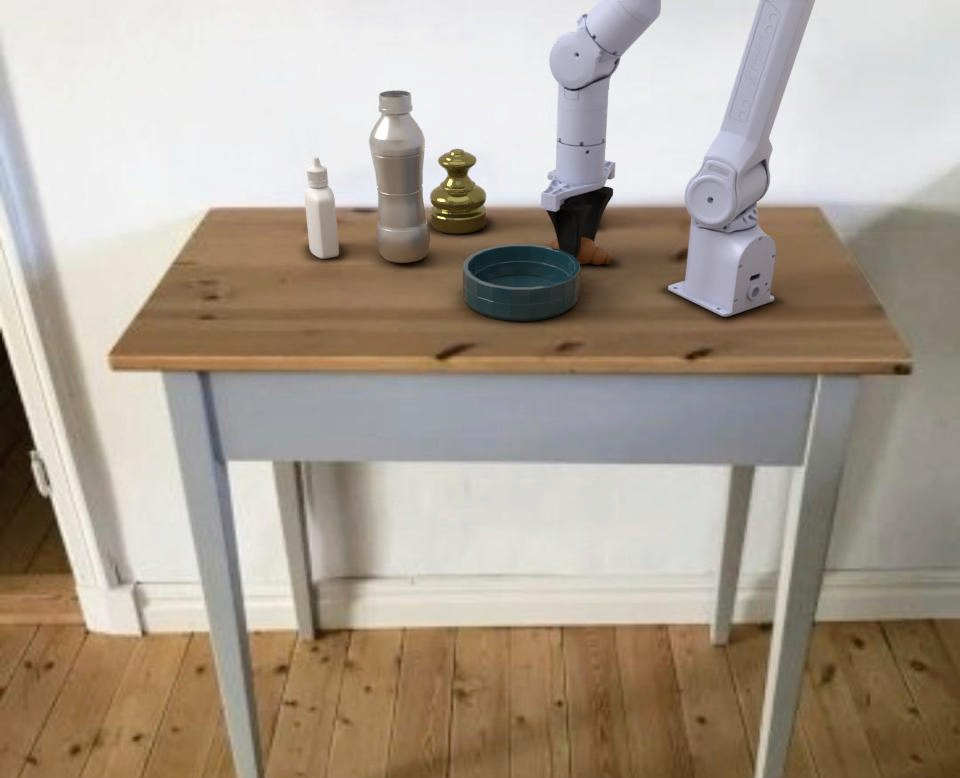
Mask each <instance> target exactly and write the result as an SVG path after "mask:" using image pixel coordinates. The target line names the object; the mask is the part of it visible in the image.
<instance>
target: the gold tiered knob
mask: <svg viewBox="0 0 960 778" xmlns="http://www.w3.org/2000/svg"><path fill="white" fill-rule="evenodd" d="M477 162H478V161H477V157H476V156H475V155H474V154H472V153H471V152H467V151H465V150H464V149H462V148H454V149H451V150H450V151H448V152H445V153H443V154H441V155H440V156H439V157H438V159H437V163H438V165H439V166H440V167H441V168H443V169H444V170H445V171H446V174H447V176H446V177H445V178H444V180H443V181H441V182H440V183H439V185H438V186H436V187H434V188H433V189H432V190H431V192H430V194H429V200H430V203H431V205H432V207H431V208H430V220H431V221H430V225H431V226H432V228H433V229H435V230H436V231H438V232H441V233H445V234H450V235H451V234H452V235H461V234H462V235H464V234H471V233H475V232H478V231H480V230H482V229H483V228H484V227H486V225H487V207H486V206H485V203H486V201H487V192H486V190H485V189H484V188H483V187H482V186H481V185H477V183H476V182H475V181H474V180H472V179H471V177H470V176H469V172H470V170H471V169H472V167H474V166H475V165H476V164H477Z"/></svg>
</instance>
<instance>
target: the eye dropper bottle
mask: <svg viewBox="0 0 960 778" xmlns="http://www.w3.org/2000/svg"><path fill="white" fill-rule="evenodd" d="M306 176H307V187H306V188H305V189H304V206H305V216H306V226H307V237H308V247H309V251H310V252H311V254H312V255H314V256H315V257H316V258H319V259H322V260H324V259H325V260H326V259H332V258H337V257H338V256H339V254H340V245H339V232H338V221H337V211H336V210H337V209H336V200H335V194H334V192H333V189H332V188H331V187H330V186H329V178H328V177H329V176H328V168H327V167H326V166H324V165H322V163H321V160H320V157H319V156H313V157H312V162H311V166H309V167H307V168H306Z"/></svg>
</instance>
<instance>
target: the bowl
mask: <svg viewBox="0 0 960 778" xmlns="http://www.w3.org/2000/svg"><path fill="white" fill-rule="evenodd" d="M580 283H581V264H580V263H579V262H578V261H577V260H576V258H575V257H574V256H572V255H570V254H568V253H566V252H564V251H562V250H559V249H555V248H551V246H547V245H541V244H532V243H531V244H530V243H529V244H528V243H512V244H503V245H496V246H495V245H494V246H491V247H487V248H484V249H481V250H478V251H477V252H473V253H472V254H470V255H469V256H468V257H467V258H466V259H465V260H464V261H463V264H462V298H463V300H464V301H465V302H466V304H467V305H468V306H469V307H471V308H472V309H473V310H475V311H476V312H477V313H479V314H481V315H483V316H486V317H488V318H492V319H497V320H503V321H511V322H533V321H539V320H547V319H550V318H554V317H557V316H559V315H561V314H563V313H565V312H567V311H569V309H571V308H572V307H574V306H575V304H576V303H577V301H578V300H579V299H580V287H581V286H580V285H581V284H580Z"/></svg>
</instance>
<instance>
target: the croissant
mask: <svg viewBox="0 0 960 778" xmlns="http://www.w3.org/2000/svg"><path fill="white" fill-rule="evenodd" d="M550 247H551V248H555V249H559V245H558V241H557V239H555V240H554V241H553V242H552V243H551V245H550ZM559 250H560V249H559ZM613 259H614V256H613V254H612V253H611V252H610V251H606V249H604V248H603V247H602V246H597V244H596V243H595V241H594V242H593V241H592V240H591V239H589V238H585V237H582V238H581V245H580V250H579V254H578V256H577V257H576V260H577V261H578V262H579V263H580V265H587V264H590V263H591V264H592V265H594V266H600V265H602V264H603V265H610V264H611V263H612V262H613Z"/></svg>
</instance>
